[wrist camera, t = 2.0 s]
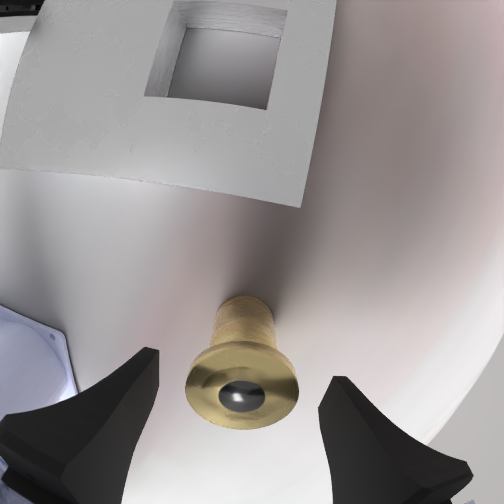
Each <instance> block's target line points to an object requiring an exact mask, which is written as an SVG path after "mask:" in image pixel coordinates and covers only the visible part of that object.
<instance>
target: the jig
mask: <svg viewBox="0 0 504 504" xmlns="http://www.w3.org/2000/svg"><path fill="white" fill-rule="evenodd" d="M336 2H337V0H45V1H44V3H43V5H42V7H41V9H40V11H39V13H38V16H37V18H36V20H35V22H34V25H33V27H32V29H31V32H30V34H29V36H28V39H27V42H26V44H25V47H24V50H23V52H22V55H21V58H20V61H19V64H18V67H17V71H16V74H15V77H14V81H13V84H12V88H11V92H10V96H9V100H8V105H7V109H6V114H5V119H4V125H3V131H2V137H1V144H0V169H17V170H35V171H49V172H62V173H74V174H84V175H94V176H104V177H113V178H121V179H130V180H138V181H145V182H153V183H160V184H167V185H174V186H181V187H187V188H194V189H200V190H206V191H212V192H218V193H224V194H230V195H236V196H241V197H247V198H252V199H257V200H263V201H268V202H273V203H278V204H283V205H288V206H293V207H297V208H301V204H302V199H303V194H304V189H305V185H306V180H307V175H308V170H309V165H310V160H311V155H312V150H313V145H314V140H315V134H316V129H317V124H318V118H319V113H320V107H321V102H322V96H323V90H324V84H325V78H326V72H327V66H328V59H329V53H330V46H331V39H332V32H333V25H334V18H335V10H336ZM186 28H208V29H221V30H231V31H240V32H248V33H255V34H261V35H267V36H273V37H278V38H281V41H280V45H279V50H278V55H277V60H276V64H275V69H274V74H273V79H272V83H271V88H270V93H269V98H268V103H267V108H266V110H262V109H257V108H251V107H245V106H239V105H233V104H226V103H218V102H210V101H202V100H192V99H181V98H167V96H168V92H169V88H170V84H171V80H172V76H173V72H174V69H175V65H176V61H177V58H178V54H179V51H180V48H181V44H182V41H183V38H184V35H185V32H186Z"/></svg>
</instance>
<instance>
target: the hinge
mask: <svg viewBox="0 0 504 504" xmlns="http://www.w3.org/2000/svg"><path fill="white" fill-rule="evenodd" d="M44 1H45V0H0V34H1V33H11V32H23V31H31V29H32V27H33V25H34V22H35V20H36V18H37V16H38V13H39V11H40V10H36V7H35V5H43V3H44ZM7 5H9V9H8V11H6V8H7Z"/></svg>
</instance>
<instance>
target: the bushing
mask: <svg viewBox="0 0 504 504" xmlns="http://www.w3.org/2000/svg"><path fill="white" fill-rule="evenodd" d="M185 393H186V398H187V400H188V402H189V404H190V406H191V407H192V408H193V410H194V411H195V412H196V413H197V414H198V415H200V416H201V417H202V418H204V419H206V420H207V421H209V422H211V423H213V424H216V425H219V426H222V427H226V428H231V429H240V430H248V429H257V428H262V427H266V426H269V425H271V424H274V423H276V422H278V421H279V420H281V419H283V418H284V417H285V416H287V415H288V414H289V413H290V412H291V411H292V409H293V408H294V407H295V405H296V403H297V400H298V396H299V387H298V382H297V377H296V373H295V369H294V367H293V365H292V364H291V362H290V361H289V359H288V358H287V357H286V356H285V355H283V354H282V353H281V352H279V351H278V350H277V344H276V336H275V330H274V323H273V316H272V313H271V310H270V309H269V307H268V306H267V305H266V304H265V303H264V302H263V301H261V300H259V299H257V298H255V297H251V296H237V297H233V298H231V299H229V300H227V301H226V302H224V303H223V304H222V305H221V307H220V308H219V310H218V312H217V315H216V319H215V324H214V329H213V333H212V338H211V343H210V347H209V348H208V349H206V350H205V351H203V352H202V353H201V354H199V355H198V356H197V357H196V359H195V360H194V361H193V363H192V365H191V367H190V370H189V373H188V377H187V381H186V386H185Z"/></svg>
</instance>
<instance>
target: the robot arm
mask: <svg viewBox="0 0 504 504" xmlns="http://www.w3.org/2000/svg"><path fill="white" fill-rule="evenodd" d="M158 388H159V350H156V349H152V348H148V347H144V348H142V349H141V350H140V351H139V352H138V353H136V354H135V355H134V356H133V357H132V358H131V359H129V360H128V361H127V362H126V363H124V364H123V365H122V366H121V367H119V368H118V369H117V370H115V371H114V372H113V373H111V374H110V375H109V376H107V377H106V378H104V379H103V380H101V381H100V382H98V383H96V384H95V385H93V386H92V387H90V388H88V389H86V390H85V391H83V392H81V393H79V394H78V392H77V388H76V385H75V381H74V377H73V373H72V368H71V364H70V360H69V355H68V350H67V345H66V339H65V336H64V335H63V333H62V332H60V331H58V330H55V329H53V328H50V327H48V326H45V325H43V324H40V323H38V322H36V321H33V320H31V319H29V318H26V317H24V316H22V315H20V314H17V313H15V312H13V311H11V310H9V309H7V308H5V307H3V306H1V305H0V504H121V501H122V496H123V491H124V487H125V482H126V478H127V474H128V470H129V467H130V463H131V459H132V456H133V452H134V450H135V447H136V444H137V442H138V440H139V437H140V435H141V433H142V430H143V428H144V426H145V424H146V421H147V419H148V417H149V414H150V412H151V410H152V407H153V405H154V402H155V398H156V395H157V391H158ZM59 400H61V402H58V401H59ZM57 402H58V403H57ZM318 412H319V423H320V430H321V434H322V439H323V443H324V447H325V451H326V455H327V459H328V463H329V468H330V473H331V481H332V493H333V504H452V502H451V500H450V499H451V498H452V497H453V496H454V495H456V494H457V493H458V492H459V491H461V490H462V489H463V488H464V487H465V486H466V485H467V484H468V483H469V482H470V481H471V480H472V477H473V474H472V472H471V470H470V468H469V466H468V464H467V462H466V461H462V460H459V459H456V458H453V457H450V456H447V455H445V454H442V453H440V452H438V451H436V450H434V449H432V448H430V447H428V446H426V445H424V444H422V443H421V442H419V441H417V440H416V439H414V438H413V437H411V436H409V435H408V434H407V433H405V432H404V431H403V430H401V429H400V428H399V427H397V426H396V425H395V424H394V423H392V422H391V421H390V420H389V419H388V418H387V417H386V416H385V415H384V414H382V413H381V412H380V411H379V410H378V409H377V408H376V407H375V406H374V405H373V404H372V403H371V402H370V401H369V400H368V399H367V397H366V396H365V395H364V394H363V393H362V392H361V391H360V390H359V389H358V388H357V387H356V386H355V385H354V384H353V383H352V382H351V381H350V380H349V379H348V378H347V377H346V376H333V378H332V380H331V382H330V384H329V387H328V389H327V391H326V393H325V395H324V397H323V399H322V401H321V403H320V405H319V407H318ZM465 504H475V503H474V501H473V500H471V501H469V502H467V503H465Z"/></svg>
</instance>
